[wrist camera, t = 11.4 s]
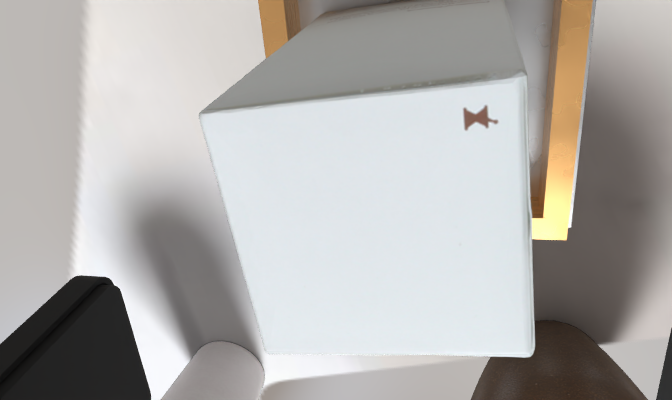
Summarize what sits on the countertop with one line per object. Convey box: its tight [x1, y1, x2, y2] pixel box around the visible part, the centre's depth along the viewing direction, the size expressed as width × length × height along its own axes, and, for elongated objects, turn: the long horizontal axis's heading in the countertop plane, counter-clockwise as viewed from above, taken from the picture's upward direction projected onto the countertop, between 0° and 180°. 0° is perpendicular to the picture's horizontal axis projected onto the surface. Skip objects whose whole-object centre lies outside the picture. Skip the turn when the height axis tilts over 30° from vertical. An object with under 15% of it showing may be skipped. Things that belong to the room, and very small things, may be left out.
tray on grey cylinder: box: [258, 0, 596, 240], centre depth 29 cm, size 14×13×14 cm
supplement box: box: [199, 0, 535, 358], centre depth 19 cm, size 7×7×13 cm
